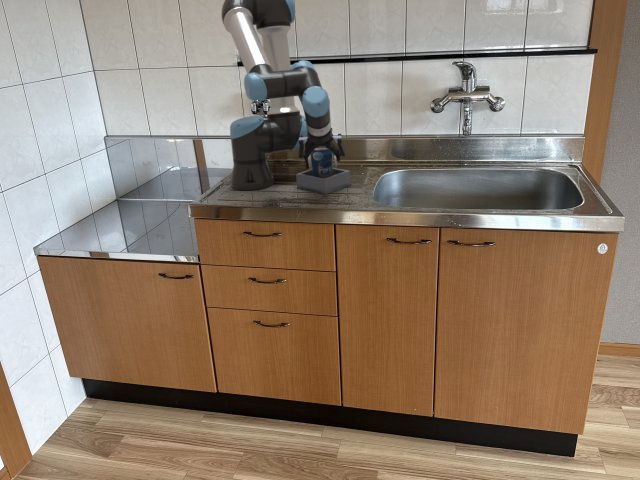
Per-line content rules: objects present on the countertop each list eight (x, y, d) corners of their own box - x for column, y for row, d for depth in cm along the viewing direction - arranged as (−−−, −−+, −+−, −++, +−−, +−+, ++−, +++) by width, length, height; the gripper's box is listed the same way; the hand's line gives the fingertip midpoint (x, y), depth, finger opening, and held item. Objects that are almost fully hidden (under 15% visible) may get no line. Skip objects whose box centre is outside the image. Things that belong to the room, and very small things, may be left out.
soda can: (322, 186, 182) (320, 151, 178) (309, 183, 187) (306, 149, 183) (337, 182, 186) (336, 147, 182) (324, 180, 191) (322, 146, 187)
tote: (297, 188, 187) (296, 174, 185) (322, 179, 196) (321, 165, 194) (325, 194, 179) (324, 179, 177) (350, 185, 187) (350, 170, 186)
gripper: (284, 139, 166) (292, 175, 187) (353, 136, 165) (354, 173, 186) (285, 118, 169) (293, 157, 190) (352, 115, 168) (353, 154, 189)
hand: (323, 165), depth 188 cm, fingers open, 8 cm apart
